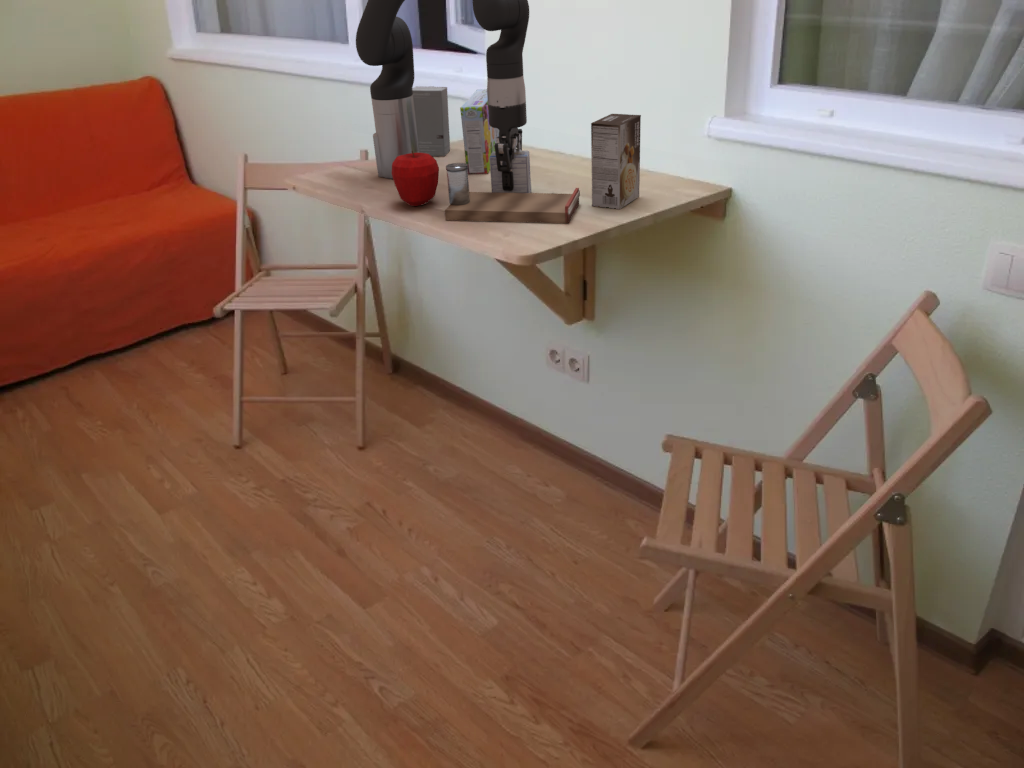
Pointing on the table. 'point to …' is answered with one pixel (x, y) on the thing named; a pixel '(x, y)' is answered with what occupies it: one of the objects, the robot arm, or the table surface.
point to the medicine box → (519, 173)
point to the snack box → (478, 133)
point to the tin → (458, 183)
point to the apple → (415, 177)
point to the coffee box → (615, 160)
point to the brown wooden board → (516, 207)
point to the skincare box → (432, 119)
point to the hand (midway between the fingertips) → (511, 185)
